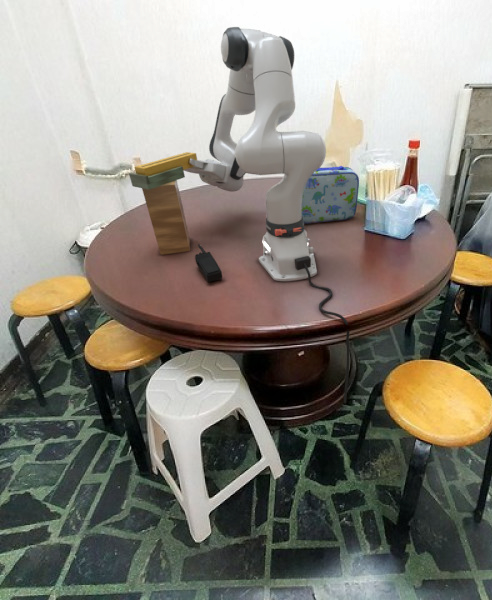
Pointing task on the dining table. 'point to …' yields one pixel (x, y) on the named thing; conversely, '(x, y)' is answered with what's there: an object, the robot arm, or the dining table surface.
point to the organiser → (165, 209)
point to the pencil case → (166, 164)
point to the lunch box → (330, 195)
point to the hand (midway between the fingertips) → (183, 160)
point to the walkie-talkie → (208, 265)
